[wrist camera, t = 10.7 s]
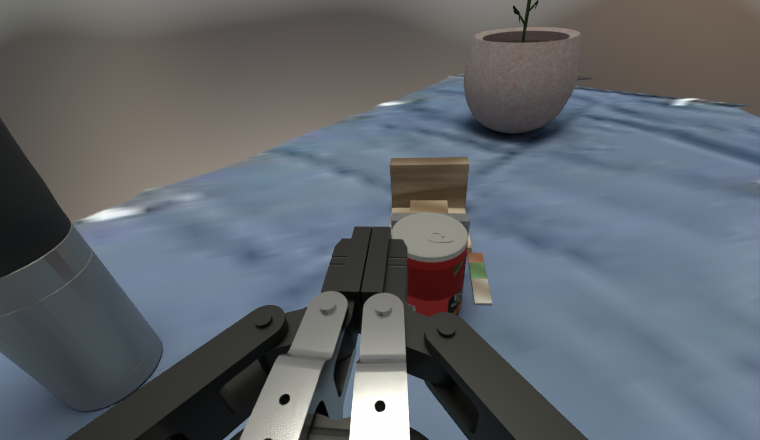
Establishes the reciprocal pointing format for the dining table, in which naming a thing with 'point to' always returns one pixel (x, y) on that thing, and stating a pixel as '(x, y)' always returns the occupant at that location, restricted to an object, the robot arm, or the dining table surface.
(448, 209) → the wooden stand
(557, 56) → the plant pot
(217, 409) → the robot arm
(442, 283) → the canned food
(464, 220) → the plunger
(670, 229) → the dining table surface
